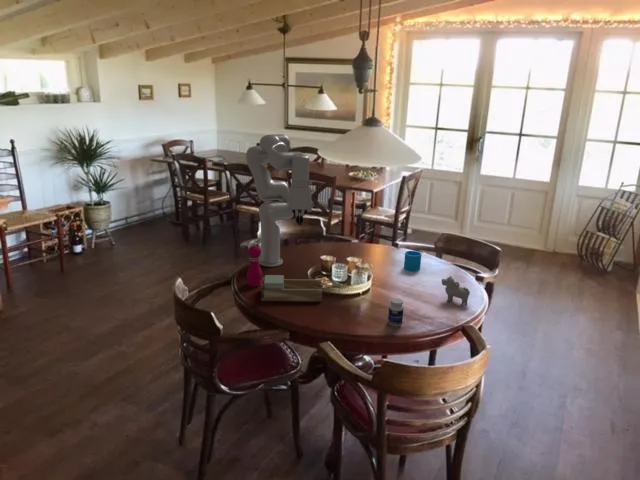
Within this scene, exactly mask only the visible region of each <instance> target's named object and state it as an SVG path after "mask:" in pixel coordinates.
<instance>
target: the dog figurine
mask: <svg viewBox="0 0 640 480" xmlns="http://www.w3.org/2000/svg"><path fill="white" fill-rule="evenodd" d="M441 285H442V286H445V293H446V295H447V299H446V302H447V303H450V302H449V301H451V300H453V299H454V297H455V298H458V299H461V303H460V305H459V306H460V307H464V305H465V304H467V303H468V300H469V296H470V294H471V292H470V290H469V288H468V287H467V288H466V287H465V286H464V287H461V286H460V283H459V282H458V281H455V279H454V278H453V277H452V276H449V277H447V278H445V279H444V278H442V279H441Z"/></svg>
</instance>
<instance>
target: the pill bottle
mask: <svg viewBox="0 0 640 480" xmlns="http://www.w3.org/2000/svg"><path fill="white" fill-rule="evenodd" d="M403 304H404V301H403V299H401V298H397V297H395V298H391V299H390V305H389V306H388V315H387V316H388V317H387V324H388V325H390V326H391V327H400V326H402V324H403V319H404V318H403V317H404V305H403Z"/></svg>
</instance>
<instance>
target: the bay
mask: <svg viewBox="0 0 640 480" xmlns="http://www.w3.org/2000/svg"><path fill="white" fill-rule="evenodd" d="M261 280H262V284H261V285H260V287H261V288H260V295H261V296H260V297H261V298H260V300H261V302H323V288H321V289H315V288H314V287H315V286H317V285H319V284H321V285H322V279H319V278H318V279H316V278H315V279H314V278H313V279H308V278H307V279H306V278H284V289H264V281H265V276H263V277H262V278H261Z"/></svg>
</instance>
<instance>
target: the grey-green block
mask: <svg viewBox="0 0 640 480" xmlns="http://www.w3.org/2000/svg"><path fill="white" fill-rule="evenodd" d="M264 277H265V281H264V289H284V279H285V275H281V274H265V275H264Z"/></svg>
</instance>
